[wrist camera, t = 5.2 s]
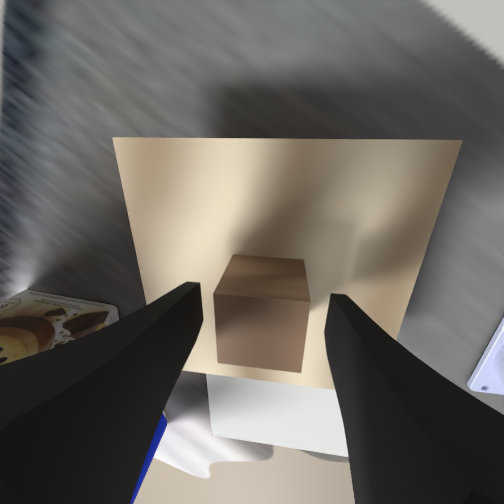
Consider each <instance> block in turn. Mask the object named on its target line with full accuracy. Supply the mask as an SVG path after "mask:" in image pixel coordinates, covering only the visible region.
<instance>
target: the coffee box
mask: <svg viewBox="0 0 504 504" xmlns="http://www.w3.org/2000/svg"><path fill="white" fill-rule="evenodd" d="M118 320H119V315H118V309H117V307H116V306H114V305H109V304H104V303H98V302H92V301H87V300H81V299H76V298H70V297H64V296H59V295H53V294H48V293H43V292H37V291H32V290H24V291H22V292H20V293H18V294H16V295H14V296H13V297H11V298H9V299H7V300H5V301H3V302H1V303H0V365H2V364H6V363H9V362H12V361H16V360H19V359H22V358H25V357H28V356H31V355H34V354H37V353H40V352H43V351H46V350H49V349H52V348H54V347H57V346H60V345H62V344H65V343H67V342H70V341H72V340H75V339H78V338H80V337H83V336H85V335H88V334H90V333H92V332H95V331H97V330H99V329H101V328H104V327H106V326H108V325H110V324H112V323H114V322H116V321H118Z"/></svg>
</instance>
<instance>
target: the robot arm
mask: <svg viewBox="0 0 504 504" xmlns="http://www.w3.org/2000/svg"><path fill="white" fill-rule="evenodd" d="M203 321H204V318H203V307H202V296H201V284H200V282H189V281H187V282H185V283H183V284H181V285H179V286H178V287H176V288H174V289H173V290H171V291H169V292H168V293H166V294H165V295H163V296H161V297H160V298H158V299H156V300H155V301H153V302H151V303H150V304H148V305H146V306H144V307H142V308H141V309H139V310H137V311H135V312H133V313H132V314H130V315H128V316H126V317H124V318H122V319H120V320H118V321H116V322H114V323H112V324H110V325H108V326H106V327H104V328H101V329H99V330H97V331H95V332H92V333H90V334H88V335H85V336H83V337H80V338H78V339H75V340H72V341H70V342H67V343H65V344H62V345H60V346H57V347H54V348H52V349H49V350H46V351H43V352H40V353H37V354H34V355H31V356H28V357H25V358H22V359H19V360H16V361H12V362H9V363H6V364H2V365H0V504H130V502H131V499H132V496H133V493H134V490H135V487H136V485H137V482H138V479H139V476H140V473H141V470H142V467H143V464H144V461H145V458H146V456H147V453H148V450H149V448H150V445H151V442H152V439H153V437H154V434H155V431H156V428H157V426H158V423H159V421H160V418H161V416H162V413H163V410H164V408H165V405H166V403H167V400H168V398H169V396H170V394H171V391H172V389H173V387H174V385H175V383H176V381H177V379H178V377H179V375H180V373H181V371H182V369H183V367H184V365H185V363H186V361H187V359H188V357H189V355H190V353H191V351H192V349H193V347H194V345H195V343H196V341H197V338H198V335H199V333H200V330H201V327H202V324H203ZM324 337H325V346H326V354H327V359H328V363H329V367H330V371H331V375H332V379H333V383H334V387H335V391H336V395H337V399H338V403H339V407H340V411H341V415H342V420H343V425H344V431H345V437H346V444H347V450H348V456H349V463H350V470H351V476H352V484H353V491H354V498H355V504H504V415H503V414H501V413H500V412H498V411H496V410H495V409H493V408H491V407H490V406H488V405H486V404H485V403H483V402H481V401H480V400H478V399H477V398H475V397H474V396H472V395H471V394H469V393H468V392H466V391H464V390H463V389H461V388H460V387H458V386H457V385H455V384H454V383H452V382H451V381H449V380H448V379H446V378H445V377H443V376H442V375H440V374H439V373H438V372H436V371H435V370H433V369H432V368H431V367H429V366H428V365H427V364H425V363H424V362H423V361H421V360H420V359H418V358H417V357H416V356H414V355H413V354H412V353H411V352H409V351H408V350H407V349H406V348H404V347H403V346H402V345H401V344H400V343H398V342H397V341H396V340H395V339H394V338H392V337H391V336H390V335H389V334H388V333H387V332H385V331H384V330H383V329H382V328H381V327H380V326H379V325H378V324H377V323H376V322H375V321H373V320H372V319H371V318H370V317H369V316H368V315H367V314H366V313H365V312H364V311H363V310H362V309H361V308H360V307H359V306H358V305H357V304H356V303H355V302H354V301H353V300H352V299H351V298H350V297H349V296H347V295H346V294H336V293H331V294H330V300H329V306H328V311H327V317H326V323H325V329H324ZM467 384H468V386H469V388H470V389H471V390H473V391H478V392H486V393H495V394H503V395H504V317H503V319H502V321H501V323H500V325H499V326H498V328H497V330H496V332H495V334H494V335H493V337H492V339H491V341H490V343H489V345H488V346H487V348H486V350H485V352H484V354H483V355H482V357H481V359H480V361H479V363H478V365H477V366H476V368H475V370H474V372H473V374H472V376H471V377H470V379H469V381H468V383H467Z"/></svg>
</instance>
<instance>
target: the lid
mask: <svg viewBox="0 0 504 504" xmlns="http://www.w3.org/2000/svg"><path fill="white" fill-rule="evenodd" d="M112 138H113V143H114V148H115V152H116V157H117V162H118V167H119V172H120V177H121V182H122V187H123V192H124V196H125V201H126V206H127V211H128V216H129V221H130V226H131V231H132V236H133V241H134V245H135V250H136V255H137V260H138V265H139V270H140V275H141V280H142V285H143V289H144V294H145V299H146V304H147V305H148V304H150V303H151V302H153V301H155V300H156V299H158V298H160V297H161V296H163V295H165V294H166V293H168V292H169V291H171V290H173V289H174V288H176V287H178V286H179V285H181V284H183V283H185V282H187V281H189V282H200V284H201V296H202V307H203V318H204V321H203V324H202V327H201V330H200V333H199V335H198V338H197V341H196V343H195V345H194V347H193V349H192V351H191V353H190V355H189V357H188V359H187V361H186V363H185V365H184V367H183V369H182V370H184V371H191V372H199V373H207V374H215V375H223V376H230V377H238V378H246V379H254V380H262V381H269V382H277V383H285V384H293V385H301V386H308V387H316V388H324V389H332V390H335V387H334V383H333V379H332V375H331V371H330V367H329V363H328V359H327V354H326V346H325V337H324V329H325V323H326V317H327V311H328V306H329V300H330V294H331V293H336V294H346V295H347V296H349V297H350V298H351V299H352V300H353V301H354V302H355V303H356V304H357V305H358V306H359V307H360V308H361V309H362V310H363V311H364V312H365V313H366V314H367V315H368V316H369V317H370V318H371V319H372V320H373V321H375V322H376V323H377V324H378V325H379V326H380V327H381V328H382V329H383V330H384V331H385V332H387V333H388V334H389V335H390V336H391V337H392V338H394V339H395V340H396V338H397V335H398V332H399V329H400V326H401V323H402V321H403V318H404V315H405V312H406V309H407V306H408V303H409V300H410V297H411V294H412V291H413V288H414V285H415V282H416V279H417V276H418V273H419V270H420V267H421V264H422V261H423V258H424V255H425V252H426V249H427V246H428V243H429V240H430V237H431V234H432V231H433V229H434V226H435V223H436V220H437V217H438V214H439V211H440V208H441V205H442V202H443V199H444V196H445V193H446V190H447V187H448V184H449V181H450V178H451V175H452V172H453V169H454V166H455V163H456V160H457V157H458V154H459V151H460V148H461V145H462V142H463V140H395V139H257V138H118V137H112Z"/></svg>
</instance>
